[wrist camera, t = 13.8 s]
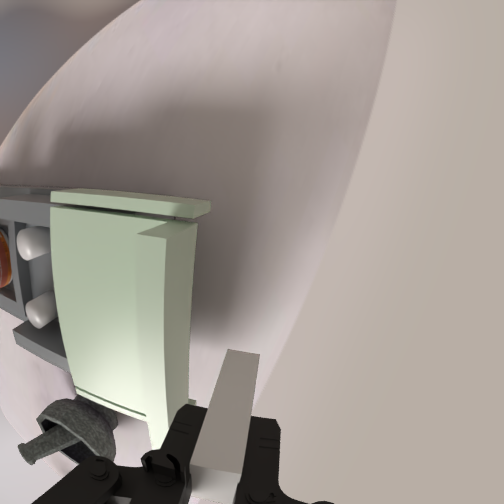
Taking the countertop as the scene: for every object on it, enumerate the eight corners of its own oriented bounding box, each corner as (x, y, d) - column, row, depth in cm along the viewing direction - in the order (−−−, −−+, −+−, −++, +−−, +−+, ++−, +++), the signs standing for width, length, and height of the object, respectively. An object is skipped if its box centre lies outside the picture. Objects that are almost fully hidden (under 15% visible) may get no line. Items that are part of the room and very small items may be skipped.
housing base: (3, 298, 24) (-29, 315, 18) (-6, 185, 21) (-44, 190, 15) (169, 362, 22) (142, 406, 17) (176, 197, 19) (135, 204, 13)
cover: (95, 373, 19) (56, 416, 13) (81, 188, 15) (13, 196, 10) (196, 405, 19) (172, 465, 13) (211, 200, 15) (168, 212, 9)
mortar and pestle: (113, 388, 24) (56, 465, 13) (142, 442, 27) (105, 513, 15) (48, 373, 26) (-6, 426, 14) (77, 424, 28) (37, 478, 16)
